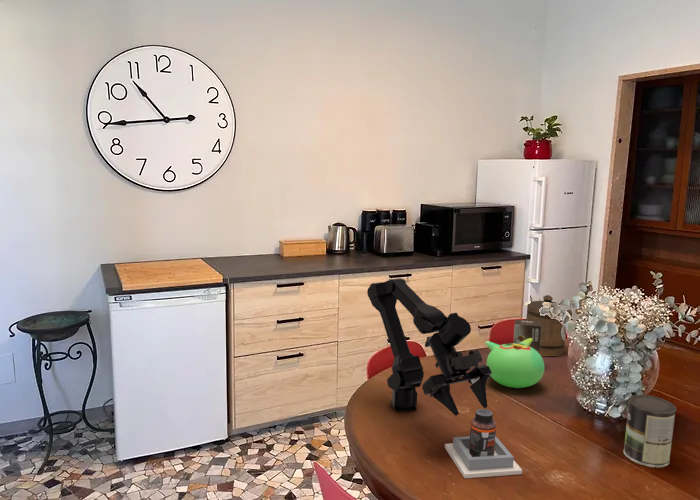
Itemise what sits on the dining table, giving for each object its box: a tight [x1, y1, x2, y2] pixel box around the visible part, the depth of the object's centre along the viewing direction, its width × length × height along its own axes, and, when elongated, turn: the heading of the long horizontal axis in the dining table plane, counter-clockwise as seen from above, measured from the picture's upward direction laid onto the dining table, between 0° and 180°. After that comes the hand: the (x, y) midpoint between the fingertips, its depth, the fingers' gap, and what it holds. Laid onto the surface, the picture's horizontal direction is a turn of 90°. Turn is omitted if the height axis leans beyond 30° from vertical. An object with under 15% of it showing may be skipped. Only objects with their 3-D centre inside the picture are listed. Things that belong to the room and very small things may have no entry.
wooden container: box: [525, 294, 567, 357], centre depth 214 cm, size 15×15×22 cm
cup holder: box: [444, 435, 523, 479], centre depth 134 cm, size 14×14×4 cm
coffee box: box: [513, 319, 541, 354], centre depth 198 cm, size 9×6×16 cm
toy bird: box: [484, 338, 545, 389], centre depth 180 cm, size 18×17×15 cm
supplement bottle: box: [469, 408, 497, 457], centre depth 134 cm, size 6×6×11 cm
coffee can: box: [622, 394, 677, 469], centre depth 137 cm, size 10×10×14 cm
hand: (471, 411), depth 137 cm, fingers open, 9 cm apart
